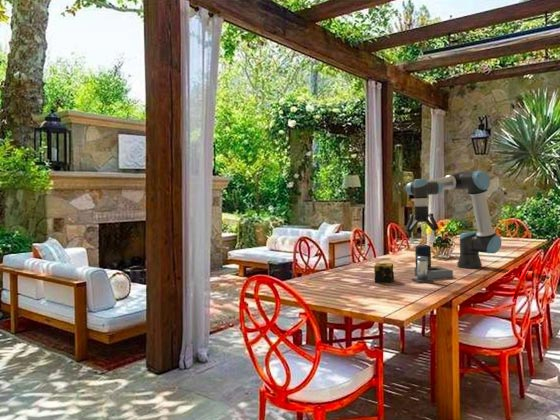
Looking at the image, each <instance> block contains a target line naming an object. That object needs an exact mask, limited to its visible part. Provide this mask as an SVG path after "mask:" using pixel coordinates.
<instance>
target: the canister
mask: <svg viewBox="0 0 560 420" xmlns="http://www.w3.org/2000/svg"><path fill="white" fill-rule="evenodd" d="M414 248H415V249H414V250H415V251H414V254H415V268H417V257H418V256H426V257H427V266H428V267H432V248H431V246H430V245H428V244H424V243H422V244H419V245H415V247H414Z"/></svg>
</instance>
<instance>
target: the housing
mask: <svg viewBox="0 0 560 420" xmlns="http://www.w3.org/2000/svg"><path fill="white" fill-rule="evenodd" d="M453 274H454V271H453V269H449V268H446V267H441V266H439V265H438V266H431V267H428V279H432V280H442V279H443V280H444V278H446V279H453V278H454V275H453ZM414 276H415V277H417V268H416V267H414Z"/></svg>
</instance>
